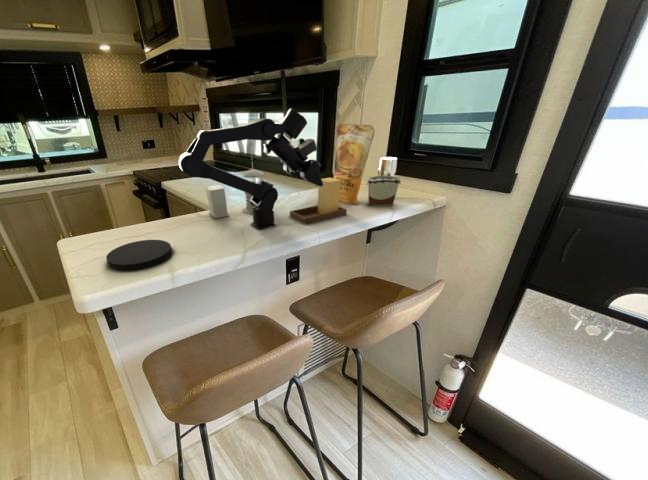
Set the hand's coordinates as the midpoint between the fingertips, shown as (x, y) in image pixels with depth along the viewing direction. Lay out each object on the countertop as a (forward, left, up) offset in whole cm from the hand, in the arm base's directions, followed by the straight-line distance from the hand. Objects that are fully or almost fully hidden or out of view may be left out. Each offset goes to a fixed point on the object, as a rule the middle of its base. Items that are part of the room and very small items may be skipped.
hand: (316, 183), depth 108 cm
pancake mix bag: (+23, +10, -12) cm, 28 cm away
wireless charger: (-62, -2, -12) cm, 63 cm away
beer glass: (+39, +5, -12) cm, 41 cm away
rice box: (+5, -1, -11) cm, 13 cm away
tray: (+1, -1, -12) cm, 12 cm away
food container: (+30, -2, -12) cm, 32 cm away
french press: (-14, +20, -12) cm, 28 cm away
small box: (-29, +24, -12) cm, 40 cm away
